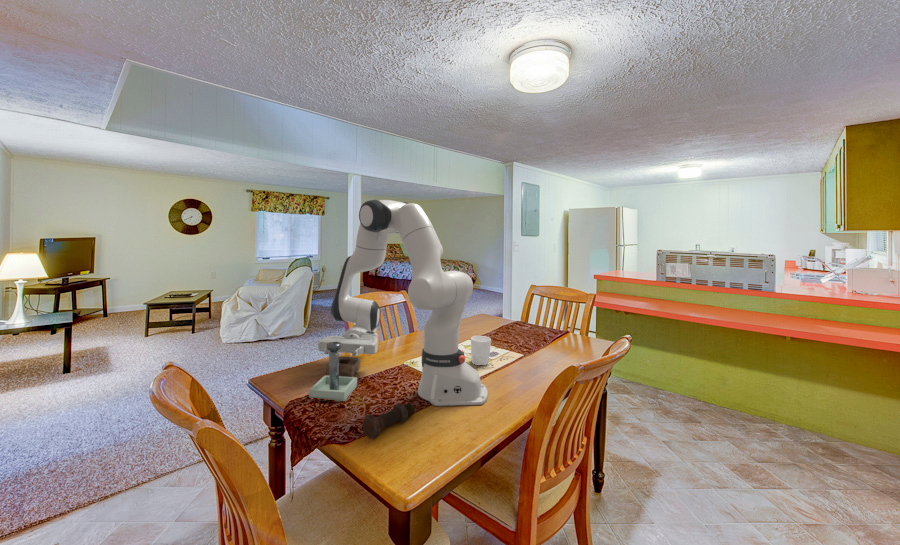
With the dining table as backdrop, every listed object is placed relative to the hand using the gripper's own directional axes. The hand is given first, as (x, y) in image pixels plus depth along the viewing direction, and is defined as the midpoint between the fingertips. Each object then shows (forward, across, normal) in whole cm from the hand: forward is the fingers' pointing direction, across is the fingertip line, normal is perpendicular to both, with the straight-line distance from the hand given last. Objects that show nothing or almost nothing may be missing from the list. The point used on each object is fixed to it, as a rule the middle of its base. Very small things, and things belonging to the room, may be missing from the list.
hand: (340, 352), depth 116 cm
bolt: (+22, +23, +11) cm, 33 cm away
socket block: (-11, -3, +11) cm, 16 cm away
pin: (+5, 0, +10) cm, 12 cm away
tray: (+5, 0, +11) cm, 12 cm away
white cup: (-28, +46, +11) cm, 55 cm away
